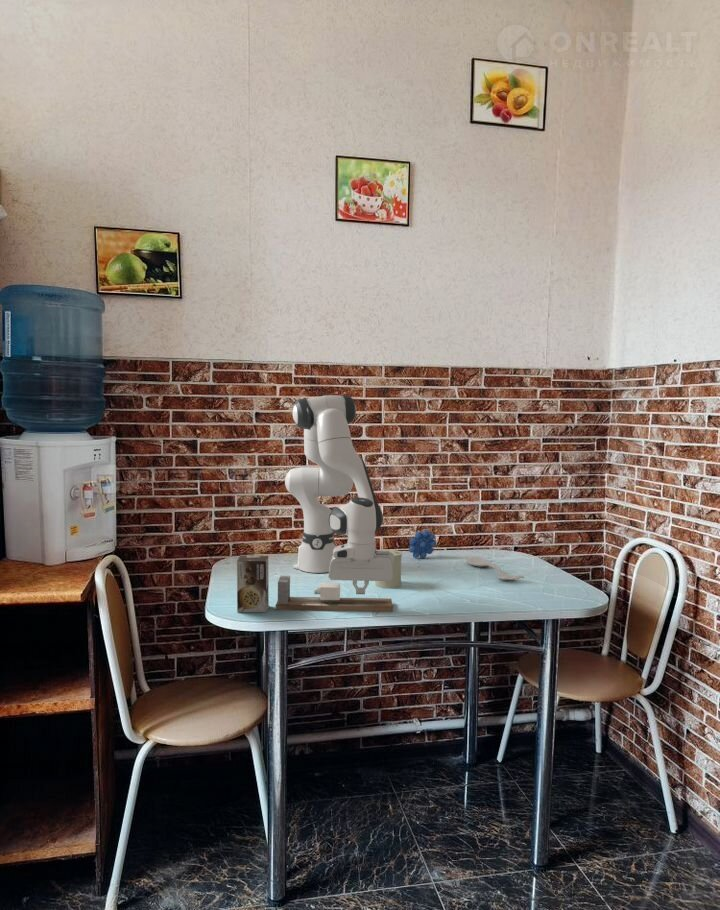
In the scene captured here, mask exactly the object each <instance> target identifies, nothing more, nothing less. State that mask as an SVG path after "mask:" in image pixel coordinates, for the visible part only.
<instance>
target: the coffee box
mask: <svg viewBox="0 0 720 910" xmlns="http://www.w3.org/2000/svg"><path fill="white" fill-rule="evenodd" d="M269 593H270V592H269V555H239V557H238V559H237V560H236V597H237V598H236V603H237V604H236V607H237V609H236V612H237V613H267V612H268V610H269V606H270V605H269V602H270V601H269V600H270V599H269V596H270V595H269Z"/></svg>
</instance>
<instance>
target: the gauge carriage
mask: <svg viewBox="0 0 720 910" xmlns="http://www.w3.org/2000/svg"><path fill="white" fill-rule="evenodd" d="M313 594H314V595H319V597H320V600H340V598H341V582H321V583H320V587H314V591H313ZM329 604H331V601H329Z"/></svg>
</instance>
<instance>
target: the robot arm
mask: <svg viewBox="0 0 720 910" xmlns="http://www.w3.org/2000/svg"><path fill="white" fill-rule="evenodd" d="M356 414H357V406H356V404H355V400H354V399H353V397H352V396H350V395H347V394H339V395H333V394H332V395H331V394H328V395H322V396H321V395H320V396H314V397H308V398H305V397H304V398H301V399H297V400H296V401H295V402H294V404H293V407H292V419H293V421H294V423H295V425H296V426H297V427H298V428H299V429H302V430H303V449H304V450H303V453H304V456H305V457H306V458H307V459H308V461H310V462H312V463H313V464H316V465H318V466H317V467H316V466H315V467H314V466H310V467H309V466H301V467H293V468H291V469H290V470H288V472H287V473H286V475H285V478H284V485H285V489H286V490H287V492H288V493H289V494H291V495H292V496H293V497H294V498H295V499H296V500H297V502H298V503H299V505H300V507H301V510H302V514H303V531H302V535H301V536H302V537H301V538H302V542H301V544H300V545H299V546H298V553H297V555H298V557H297V562H295V563H294V564H293V565H292V567H293V569H297V570H300V571H303V572H306V573H314V574H315V573H316V574H319V573H321V574H324V573H328V578H329V580H330V581H352V585H353V587H354V589H355V595H366V590H367V587H368V586H369V585H370V582H375V581H391V580H392V579H393V568H392V565H393V564H394V559H395V557H394V554H393V553H391V552H390V551H379V550H376V549H377V548H376V547H377V546H376V544H377V541H376V536H375V534H376V533H378V531H379V530H380V528H381V527H382V525H383V523H384V514H383V511H382V509H381V506H380V505H379V502H378V500H377V498H376V495H375V491H374V488H373V485H372V482H371V478H370V475H369V471H368V468H367V465H366V463H365V461H364V459H363V458H362V457H361V456H360V455H359V454H358V453H357V451H356V449H355V447H354V444H353V440H352V436H351V430H350V426H349V424H352V423H353V422H354V420H355V419H356ZM354 487H355V489H356V490H355V491H356V493H357V497H353V498H351V499H350V500H349V502H347V503H345V504H342V505H337V506H334V507H333V508H332V509H331V508H329V507H328V506H327V505H324V504H322V503H320V502H319V501H318V497H339V496H345V495H346V496H347V495H348V494H350V492H351V490H352V489H353V488H354ZM335 535H337V536H346V537H347V542H346V543H344V544H340V545H336V544H335V542H334V541H335ZM358 581H362V582H364V585H363V587H358Z"/></svg>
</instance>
